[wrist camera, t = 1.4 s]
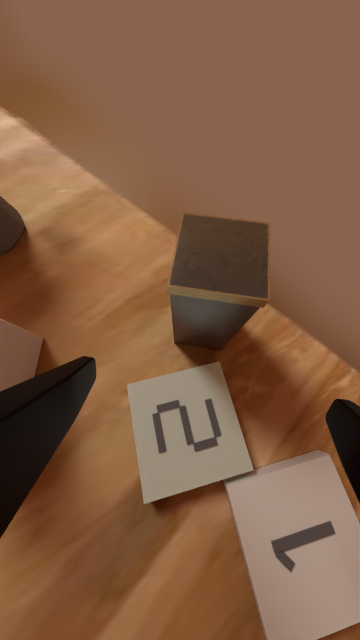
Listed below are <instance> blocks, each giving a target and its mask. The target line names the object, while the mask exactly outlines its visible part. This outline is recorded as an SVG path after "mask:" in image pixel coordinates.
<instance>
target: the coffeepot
mask: <svg viewBox="0 0 360 640" xmlns="http://www.w3.org/2000/svg"><path fill="white" fill-rule="evenodd" d="M24 228H25V227H24V224H23V221H22V219H21V218H20V216H19V213H18V211H17V210H16V209H15V208H13V207H12V206H11V205H10V204H9V203H8V202H7V201H5V200H4V199H3V198H2V197H1V196H0V255H1V254H3V253H5V252H6V251H8V250H9V249H11V248H12V247H13V246H14V245H15V244H16V243H17V242H18V241H19V240H20V238H21V236H22V234H23V230H24Z"/></svg>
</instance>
